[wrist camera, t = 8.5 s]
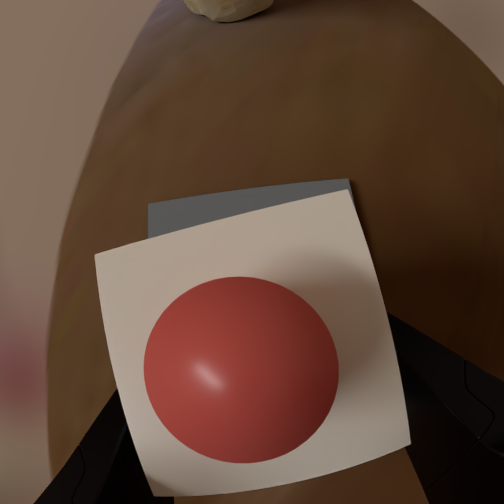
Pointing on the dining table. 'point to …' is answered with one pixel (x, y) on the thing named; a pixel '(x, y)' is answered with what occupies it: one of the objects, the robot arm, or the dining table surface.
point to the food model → (227, 8)
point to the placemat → (231, 204)
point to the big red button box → (253, 349)
